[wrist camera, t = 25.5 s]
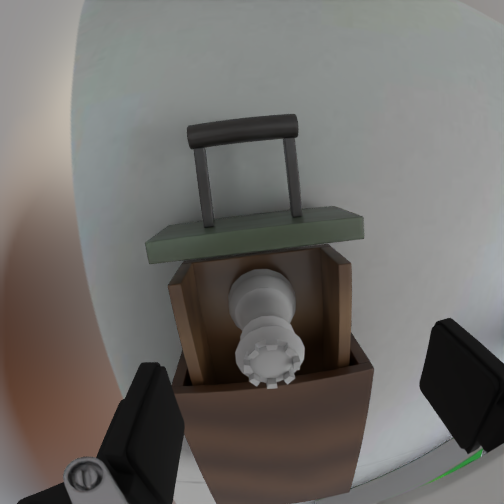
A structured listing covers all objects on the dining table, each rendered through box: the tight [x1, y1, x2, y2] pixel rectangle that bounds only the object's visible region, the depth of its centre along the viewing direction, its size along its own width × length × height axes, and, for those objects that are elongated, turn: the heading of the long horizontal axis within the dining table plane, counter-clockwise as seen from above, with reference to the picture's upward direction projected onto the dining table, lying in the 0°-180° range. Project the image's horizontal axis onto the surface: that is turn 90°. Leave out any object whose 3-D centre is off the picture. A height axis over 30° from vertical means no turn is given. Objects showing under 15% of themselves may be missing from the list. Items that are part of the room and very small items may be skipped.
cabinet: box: [172, 333, 374, 504], centre depth 22 cm, size 17×13×7 cm
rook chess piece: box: [228, 269, 305, 389], centre depth 16 cm, size 4×4×8 cm
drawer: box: [145, 114, 364, 386], centre depth 19 cm, size 21×11×5 cm, turn 7°
